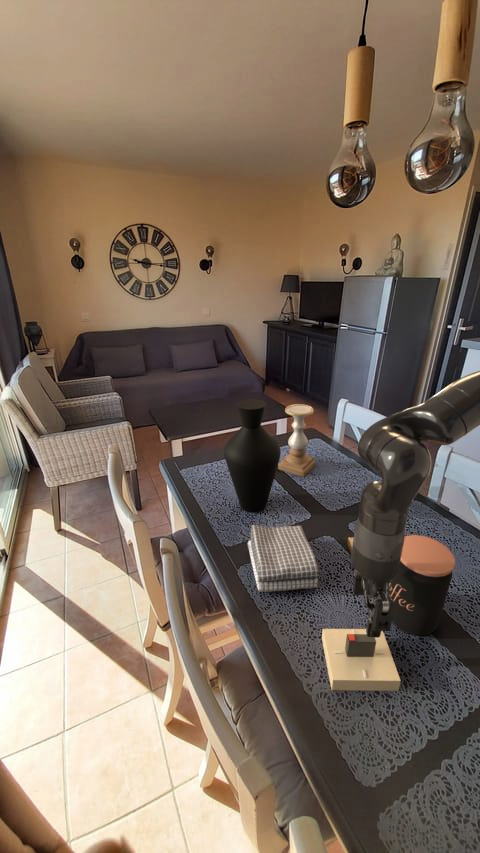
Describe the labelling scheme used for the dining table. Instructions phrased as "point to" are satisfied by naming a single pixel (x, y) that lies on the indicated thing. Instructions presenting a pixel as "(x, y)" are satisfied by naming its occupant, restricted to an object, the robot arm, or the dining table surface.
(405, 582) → the coffee jar
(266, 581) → the towel
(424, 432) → the robot arm
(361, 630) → the panel
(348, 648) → the dark grey block
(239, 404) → the vase
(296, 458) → the candle holder
